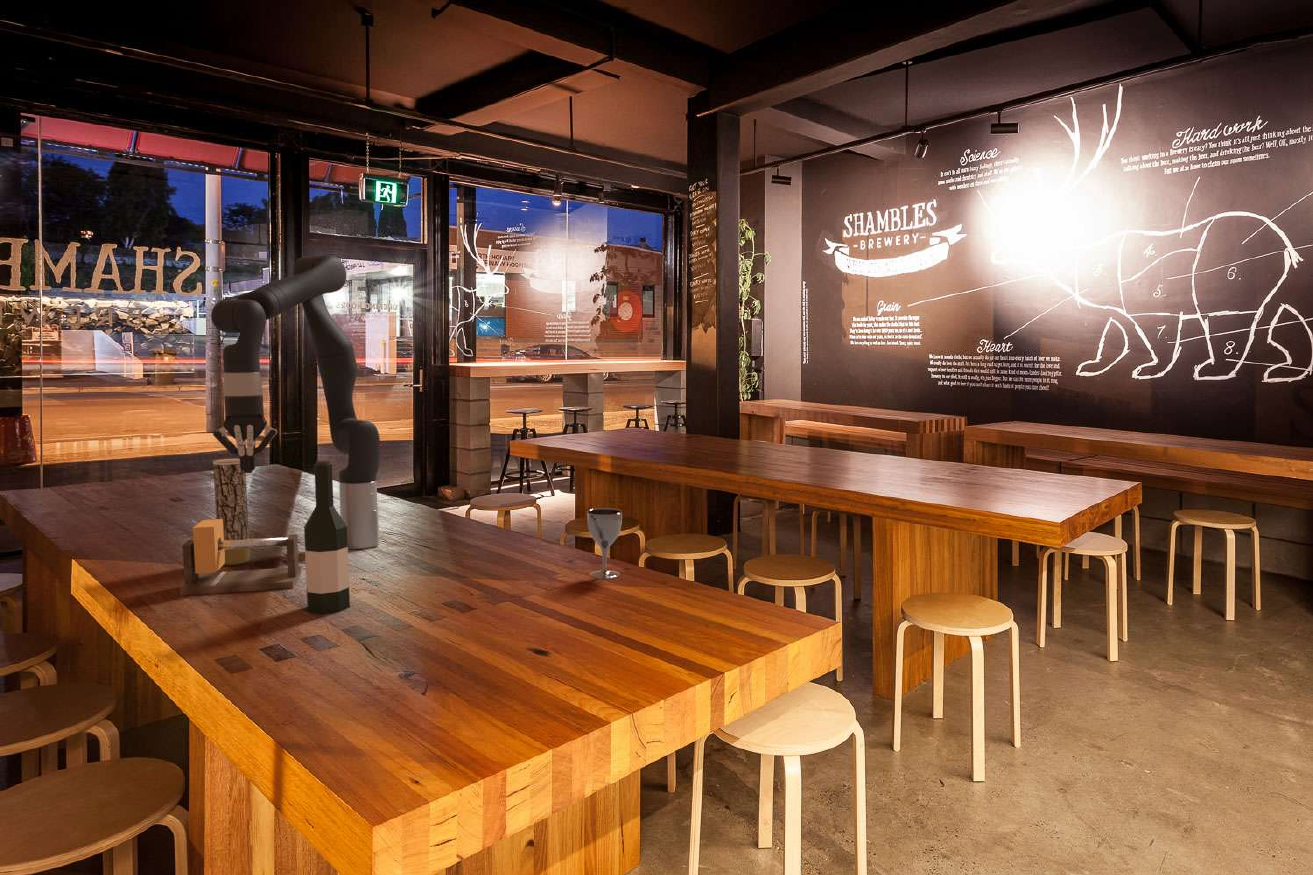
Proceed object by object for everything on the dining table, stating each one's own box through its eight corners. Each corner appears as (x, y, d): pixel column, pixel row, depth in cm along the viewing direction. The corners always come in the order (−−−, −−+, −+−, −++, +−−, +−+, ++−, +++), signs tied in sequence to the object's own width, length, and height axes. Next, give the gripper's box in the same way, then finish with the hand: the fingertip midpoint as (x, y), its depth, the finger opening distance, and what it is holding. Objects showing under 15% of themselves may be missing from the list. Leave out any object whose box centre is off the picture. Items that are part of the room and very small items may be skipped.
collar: (225, 562, 184) (222, 519, 183) (216, 572, 177) (213, 526, 175) (205, 563, 183) (202, 519, 182) (195, 573, 175) (192, 527, 174)
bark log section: (236, 567, 196) (231, 463, 193) (212, 565, 197) (206, 462, 194) (256, 559, 202) (251, 459, 199) (232, 558, 204) (226, 458, 201)
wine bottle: (314, 601, 170) (308, 457, 167) (355, 600, 171) (350, 457, 167) (300, 614, 162) (293, 463, 158) (343, 613, 162) (338, 463, 159)
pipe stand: (301, 573, 191) (299, 530, 189) (293, 588, 179) (291, 542, 178) (195, 579, 185) (193, 535, 184) (180, 595, 173) (177, 548, 172)
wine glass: (626, 571, 194) (626, 509, 192) (614, 580, 186) (614, 515, 185) (595, 568, 196) (595, 506, 195) (582, 577, 189) (581, 513, 187)
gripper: (279, 391, 183) (283, 468, 185) (213, 392, 179) (218, 471, 181) (273, 394, 176) (278, 474, 178) (205, 395, 172) (210, 476, 174)
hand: (248, 472), depth 180 cm, fingers closed
